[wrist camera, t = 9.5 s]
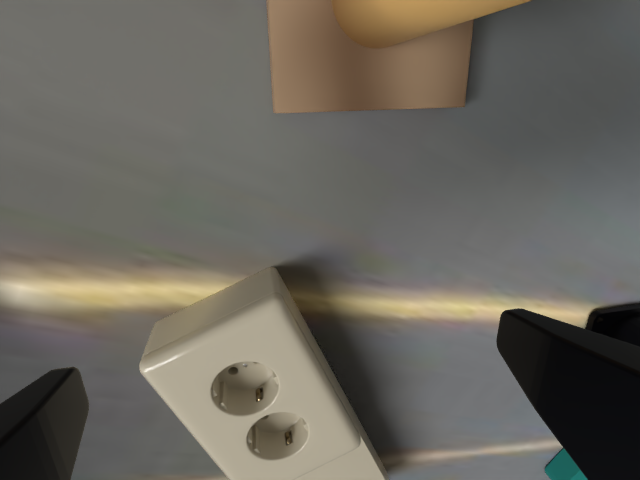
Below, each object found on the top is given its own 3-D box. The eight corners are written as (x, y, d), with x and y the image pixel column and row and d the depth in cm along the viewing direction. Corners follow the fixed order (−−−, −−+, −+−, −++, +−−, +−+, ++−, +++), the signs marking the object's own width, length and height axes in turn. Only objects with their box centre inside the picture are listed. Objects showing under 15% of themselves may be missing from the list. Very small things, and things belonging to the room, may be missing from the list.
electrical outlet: (302, 572, 24) (133, 370, 17) (293, 507, 28) (152, 320, 21) (405, 520, 24) (281, 299, 17) (382, 462, 28) (273, 262, 21)
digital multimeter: (620, 516, 37) (650, 550, 34) (535, 464, 31) (563, 498, 29) (679, 465, 36) (715, 495, 33) (602, 401, 30) (637, 430, 28)
